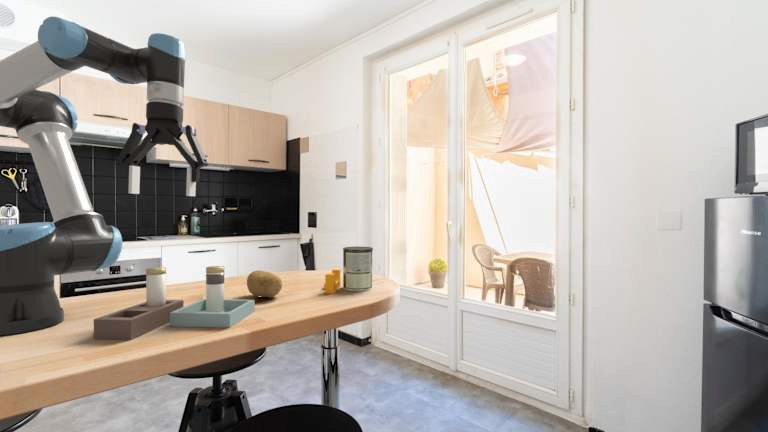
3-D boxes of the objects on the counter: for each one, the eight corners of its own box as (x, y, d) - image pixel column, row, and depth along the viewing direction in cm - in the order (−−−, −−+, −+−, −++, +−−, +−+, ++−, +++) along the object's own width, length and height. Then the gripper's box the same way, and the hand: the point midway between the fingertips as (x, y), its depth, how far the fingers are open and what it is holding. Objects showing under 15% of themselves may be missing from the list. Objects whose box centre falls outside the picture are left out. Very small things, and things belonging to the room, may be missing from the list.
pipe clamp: (328, 287, 134) (328, 268, 134) (340, 287, 134) (340, 269, 134) (319, 294, 122) (320, 274, 122) (333, 294, 122) (333, 274, 122)
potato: (259, 304, 107) (259, 276, 107) (239, 296, 118) (239, 270, 118) (290, 299, 114) (290, 272, 114) (269, 292, 124) (269, 267, 124)
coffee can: (337, 287, 132) (337, 247, 132) (360, 284, 138) (361, 246, 138) (354, 292, 124) (354, 249, 124) (378, 289, 130) (378, 248, 130)
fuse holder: (93, 338, 77) (93, 319, 77) (152, 315, 95) (152, 299, 95) (131, 339, 77) (131, 320, 77) (183, 316, 95) (183, 300, 95)
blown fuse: (202, 318, 91) (202, 268, 91) (211, 313, 95) (211, 265, 95) (219, 318, 91) (219, 268, 91) (227, 314, 95) (227, 266, 95)
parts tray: (169, 326, 86) (169, 312, 86) (202, 310, 100) (202, 298, 100) (229, 327, 85) (229, 314, 85) (254, 311, 99) (254, 299, 99)
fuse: (141, 320, 89) (141, 269, 89) (153, 316, 93) (153, 267, 93) (158, 321, 88) (158, 269, 88) (169, 316, 92) (169, 267, 92)
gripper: (100, 97, 85) (98, 191, 86) (210, 102, 85) (206, 196, 85) (124, 106, 93) (121, 193, 93) (224, 110, 92) (221, 197, 93)
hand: (162, 195), depth 89 cm, fingers open, 13 cm apart
